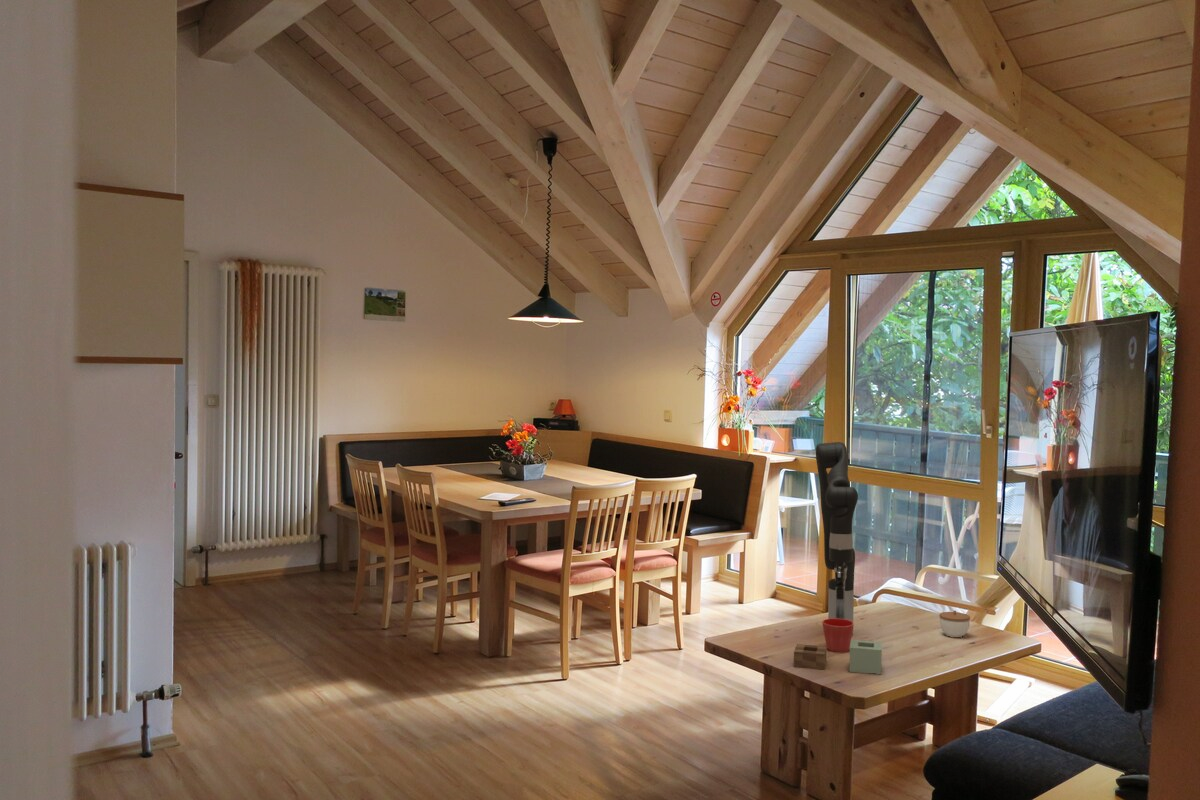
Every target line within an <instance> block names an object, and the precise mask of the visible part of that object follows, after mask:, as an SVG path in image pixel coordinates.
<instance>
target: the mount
mask: <svg viewBox="0 0 1200 800" xmlns="http://www.w3.org/2000/svg"><path fill="white" fill-rule="evenodd" d="M827 650H828V649H827V646H826V645H815V644H805V643H804V644H803V643H796V645H795V647H794V651H793V667H794V668H804V669H817V670H826V669H825V668H826V664H827Z"/></svg>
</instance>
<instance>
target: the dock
mask: <svg viewBox="0 0 1200 800" xmlns="http://www.w3.org/2000/svg"><path fill="white" fill-rule="evenodd" d="M882 647H883V643H882V641H872V640H871V641H870V640H859V639H851V643H850V648H849V673H860V674H868V673H876V674H875V675H879V674H881V675H882V667H883V666H882V662H883V661H882V658H883V657H882V656H883V654H882V653H883V652H882V649H883V648H882Z"/></svg>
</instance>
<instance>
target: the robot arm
mask: <svg viewBox="0 0 1200 800" xmlns="http://www.w3.org/2000/svg"><path fill="white" fill-rule="evenodd" d="M815 446H816V447H815V460H816V466H817V467H816V468H817V474H818V481H819V489H820V490H819V492H820V507H821V518H822V525H823V541H824V542H823V543H824V544H823V547H824V548H823V549H824V550H823V551H824V552H823V553H824V564H825V567H826V568H827V569H829V570H831V571H834V578H831V579H830V580H829V581H828V604H827V605H828V607H827V608H828V609H827V610H828V614H827V615H828V618H827V619H833V618H836V617H835V611H836V588H837V599H841V600H842V599H843V598H844V581H845V618H844V619H846V620H849V621H852V622H853V623H854V610H855V609H854V604H855V603H854V601H855V600H854V599H855V598H854V597H855V596H854V595H855V594H854V592H855V591H854V588H855V587H854V586H855V565H856V552H855V549H854V546H853V542H854V541H853V540H854V539H853V517H854V514H855V509H856V507H857V504H858V500H859V493H858V491H857V489H856V488H855V487H852V486H851V485H850V479H849V476H848V473H849V472H848V471H849V457H848V456H849V455H848V450H847V447H846V444H845V443H844V442H841V441H836V442H834V441H833V442H823V443H822V442H821V443H818V444H816V445H815ZM827 469H830V470H829V471H827ZM843 577H844V578H843ZM838 582H842V584H839V583H838ZM837 619H839V618H837ZM853 635H854V630H853V631H852V636H853Z"/></svg>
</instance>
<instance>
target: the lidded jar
mask: <svg viewBox="0 0 1200 800" xmlns="http://www.w3.org/2000/svg"><path fill="white" fill-rule="evenodd" d="M970 619H971V617H970V615H969V614H967V613H964V612H957V611H956V610H952V611H943V612H939V625H940V629H941V631H942V632H943V633H944V634H945V636H946V635H947V636H946V637H948V636H950V637H949V638H953V637H961V638H963V637H964V636H965V635H966V634H967V633H968V631H969V627H970ZM962 636H963V637H962Z"/></svg>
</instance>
